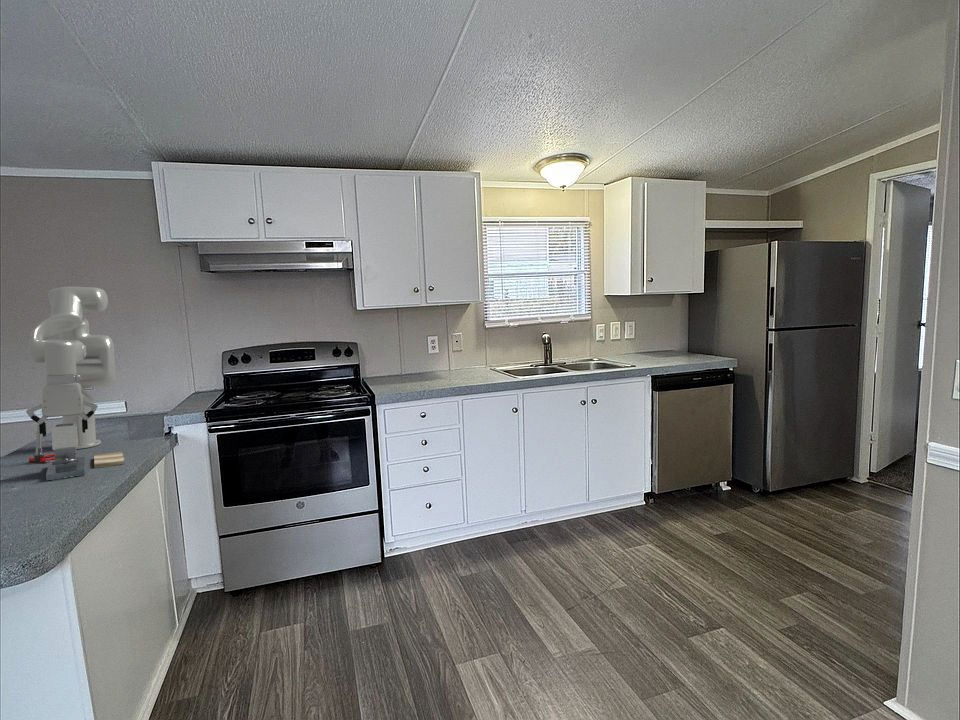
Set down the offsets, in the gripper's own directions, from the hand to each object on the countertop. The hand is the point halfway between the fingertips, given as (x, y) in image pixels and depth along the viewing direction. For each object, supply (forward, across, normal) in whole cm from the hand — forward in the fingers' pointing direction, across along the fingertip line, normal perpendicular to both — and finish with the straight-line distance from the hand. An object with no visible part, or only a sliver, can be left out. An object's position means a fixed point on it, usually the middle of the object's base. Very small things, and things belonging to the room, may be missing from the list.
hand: (64, 433), depth 158 cm
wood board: (+12, -11, -7) cm, 18 cm away
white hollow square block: (+4, 0, 0) cm, 4 cm away
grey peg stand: (+12, 0, -1) cm, 12 cm away
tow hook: (+12, +5, -22) cm, 25 cm away
